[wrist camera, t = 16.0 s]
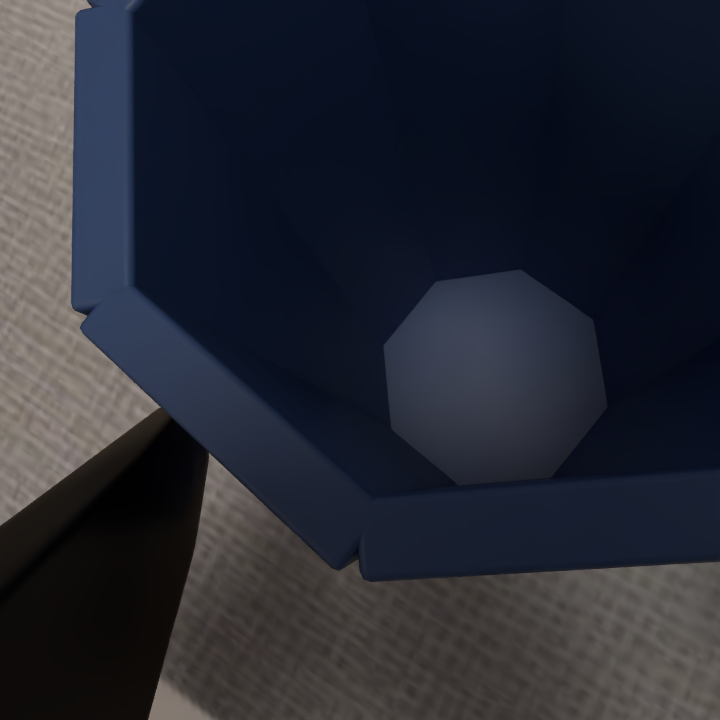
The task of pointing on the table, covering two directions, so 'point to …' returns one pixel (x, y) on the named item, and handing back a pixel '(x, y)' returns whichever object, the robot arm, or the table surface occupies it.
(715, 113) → the measuring cup
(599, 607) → the table surface
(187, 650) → the table surface
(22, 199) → the table surface
